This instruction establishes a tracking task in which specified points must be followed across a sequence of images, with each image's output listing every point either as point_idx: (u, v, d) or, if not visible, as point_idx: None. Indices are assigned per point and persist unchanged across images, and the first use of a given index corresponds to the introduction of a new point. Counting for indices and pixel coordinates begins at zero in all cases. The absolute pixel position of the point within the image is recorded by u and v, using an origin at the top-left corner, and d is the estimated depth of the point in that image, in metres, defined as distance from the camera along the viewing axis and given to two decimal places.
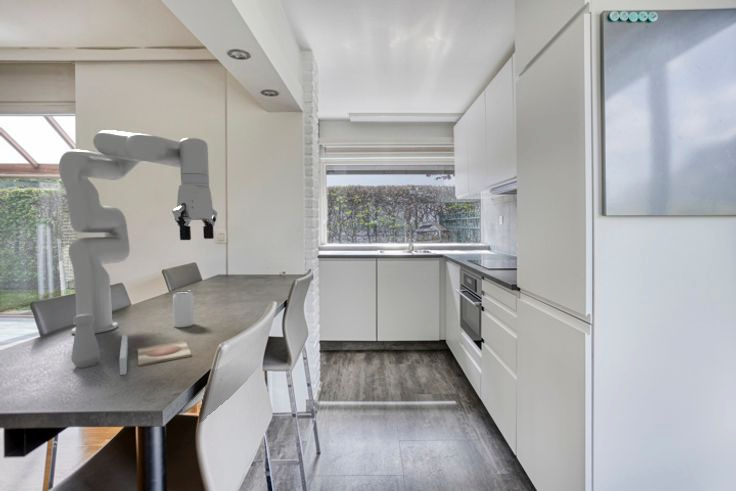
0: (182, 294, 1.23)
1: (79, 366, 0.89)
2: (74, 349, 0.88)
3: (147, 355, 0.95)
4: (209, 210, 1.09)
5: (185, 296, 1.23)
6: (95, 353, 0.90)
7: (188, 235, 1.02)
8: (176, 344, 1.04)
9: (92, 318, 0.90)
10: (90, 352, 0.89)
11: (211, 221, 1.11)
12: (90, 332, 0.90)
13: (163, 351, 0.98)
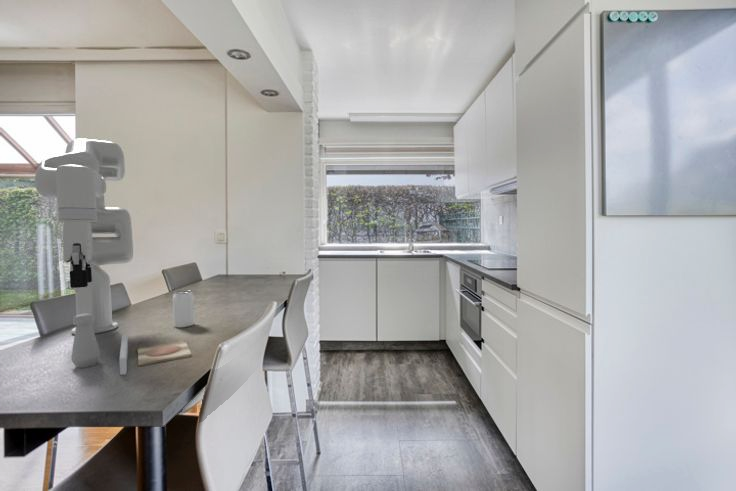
0: (182, 294, 1.23)
1: (79, 366, 0.89)
2: (74, 349, 0.88)
3: (147, 355, 0.95)
4: None
5: (185, 296, 1.23)
6: (95, 353, 0.90)
7: (85, 281, 0.86)
8: (176, 344, 1.04)
9: (92, 318, 0.90)
10: (90, 352, 0.89)
11: (89, 262, 0.94)
12: (90, 332, 0.90)
13: (163, 351, 0.98)
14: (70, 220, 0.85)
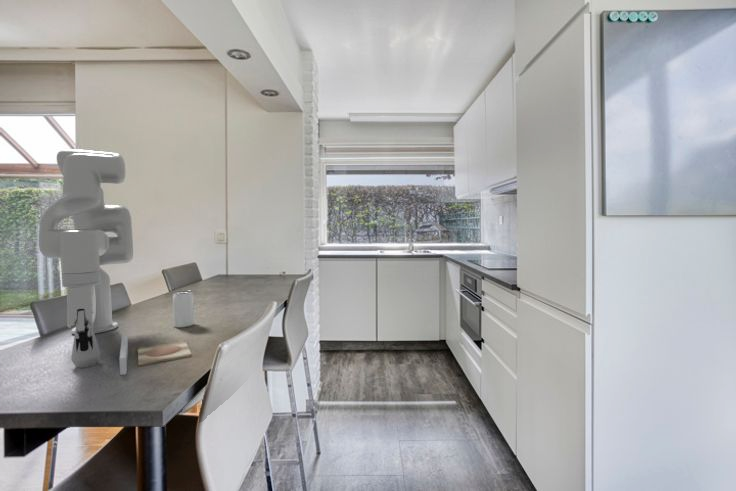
0: (182, 294, 1.23)
1: (79, 366, 0.89)
2: (74, 349, 0.88)
3: (147, 355, 0.95)
4: None
5: (184, 296, 1.23)
6: (95, 353, 0.90)
7: None
8: (176, 344, 1.04)
9: None
10: (90, 352, 0.89)
11: (92, 326, 0.93)
12: None
13: (163, 351, 0.98)
14: (74, 285, 0.86)
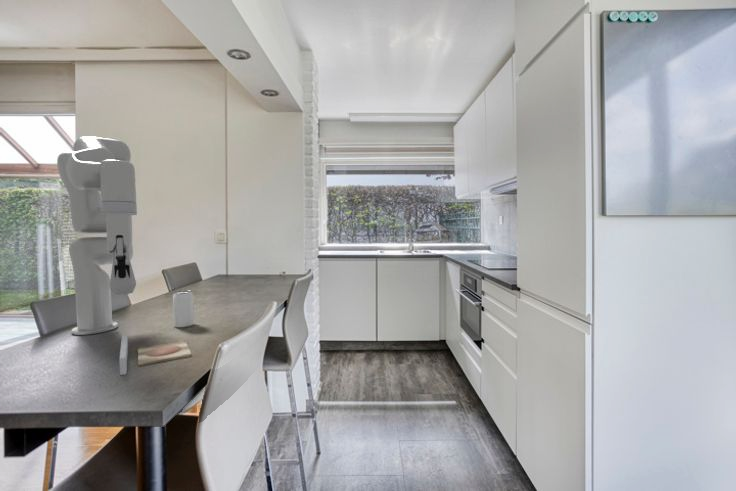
0: (182, 294, 1.23)
1: (117, 293, 0.91)
2: (112, 276, 0.91)
3: (147, 355, 0.95)
4: None
5: (185, 296, 1.23)
6: (131, 282, 0.93)
7: None
8: (176, 344, 1.04)
9: None
10: (127, 279, 0.92)
11: None
12: None
13: (163, 351, 0.98)
14: (113, 213, 0.89)
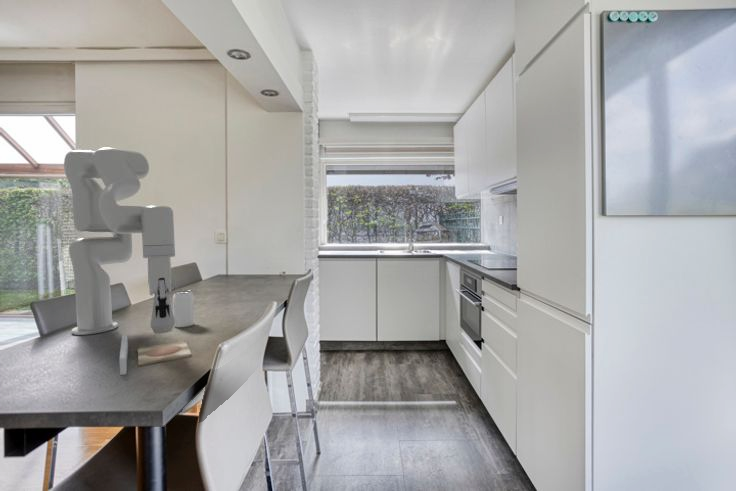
0: (182, 294, 1.23)
1: (158, 332, 0.96)
2: (153, 316, 0.95)
3: (147, 355, 0.95)
4: None
5: (185, 296, 1.23)
6: (171, 320, 0.97)
7: (168, 314, 0.97)
8: (176, 344, 1.04)
9: None
10: (167, 319, 0.96)
11: None
12: None
13: (163, 351, 0.98)
14: (155, 256, 0.93)
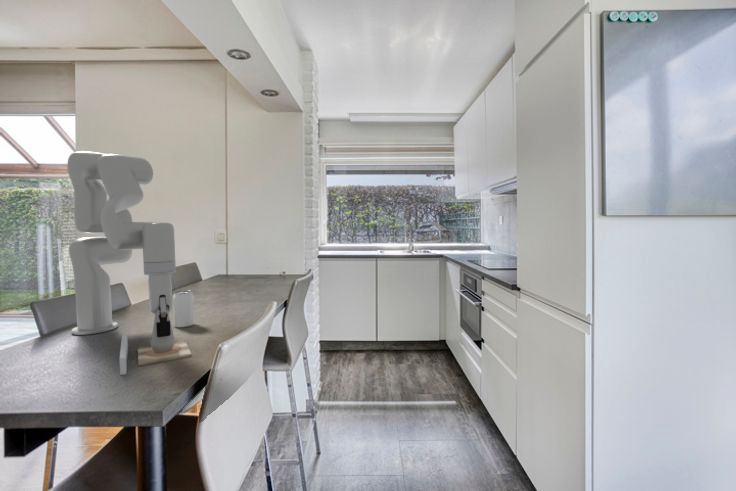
0: (182, 294, 1.23)
1: (158, 351, 0.96)
2: (154, 336, 0.96)
3: (147, 355, 0.95)
4: None
5: (185, 296, 1.23)
6: (171, 340, 0.98)
7: (169, 330, 0.96)
8: (176, 344, 1.04)
9: None
10: (168, 338, 0.97)
11: None
12: None
13: None
14: (156, 273, 0.94)
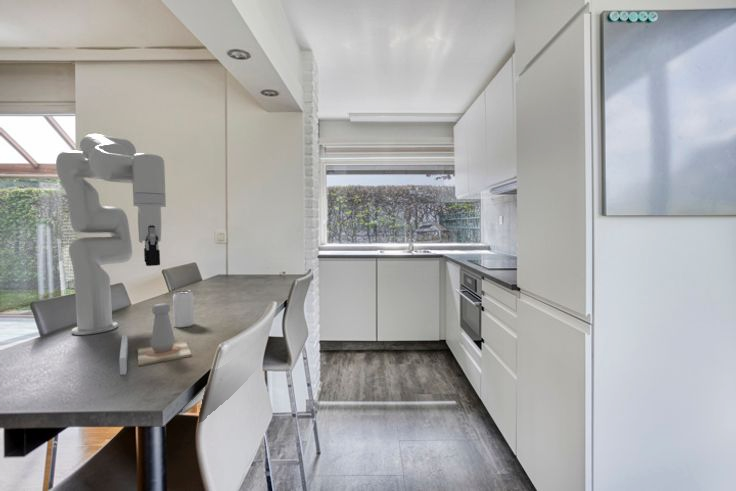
0: (182, 294, 1.23)
1: (158, 351, 0.96)
2: (154, 336, 0.96)
3: (147, 355, 0.95)
4: None
5: (185, 296, 1.23)
6: (171, 340, 0.98)
7: (158, 260, 0.94)
8: (176, 344, 1.04)
9: (169, 307, 0.98)
10: (168, 338, 0.97)
11: None
12: (167, 321, 0.97)
13: None
14: (145, 204, 0.93)
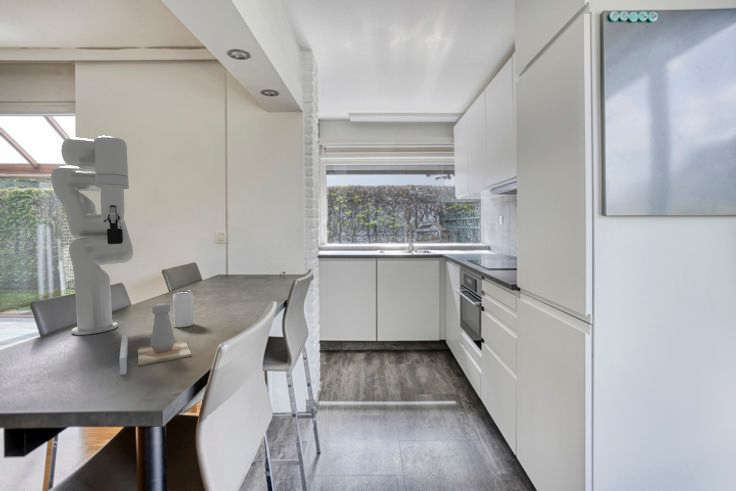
0: (182, 294, 1.23)
1: (158, 351, 0.96)
2: (154, 336, 0.96)
3: (147, 355, 0.95)
4: None
5: (185, 296, 1.23)
6: (171, 340, 0.98)
7: (120, 239, 0.98)
8: (176, 344, 1.04)
9: (169, 307, 0.98)
10: (168, 338, 0.97)
11: (121, 224, 1.06)
12: (167, 321, 0.97)
13: None
14: (107, 185, 0.97)
